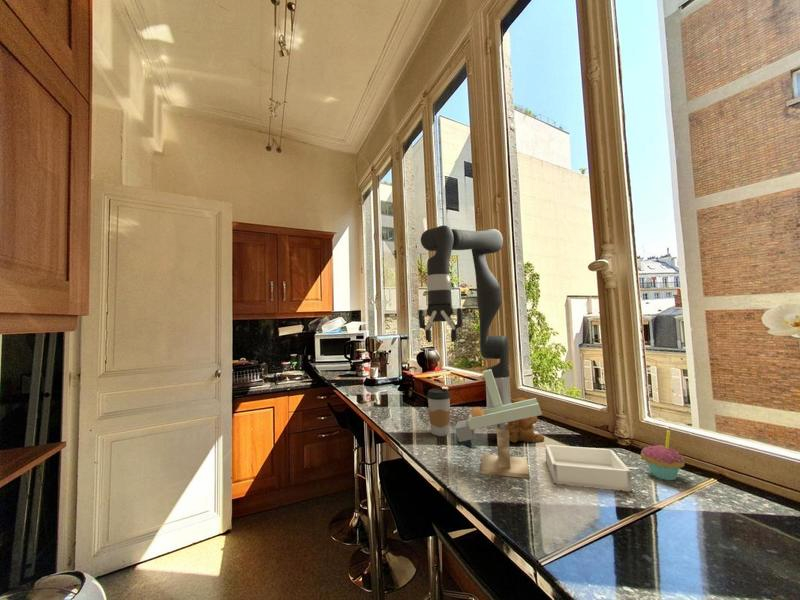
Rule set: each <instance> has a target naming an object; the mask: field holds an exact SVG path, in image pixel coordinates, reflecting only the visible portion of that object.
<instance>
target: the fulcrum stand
mask: <svg viewBox="0 0 800 600" xmlns="http://www.w3.org/2000/svg"><path fill="white" fill-rule="evenodd" d="M496 441H497V443H496V444H497V454H486V453H482V455H481V464H480V474H484V475H491V476H492V475H493V476H503V477H514V478H522V479H530V478H531V475H530V474H531V473H530V469H529V465H528V460H527V457H521V456H520V457H519V456H511V454H510V453H511V451H510V441H509V429H508V423H505V429H503V430H502V429H500V424H496Z"/></svg>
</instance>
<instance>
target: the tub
mask: <svg viewBox="0 0 800 600" xmlns="http://www.w3.org/2000/svg"><path fill="white" fill-rule="evenodd" d="M544 450H545V461H546V464H547V468H548V471H549V473H550V476H551V479H552V483H553V484H554V483H556V484H555V485H562V484H567V485H566V486H572V485H573V486H574V487H582V486H584V487H583V488H591V487H594V488H593V489H602V490H611V489H614V490H613V491H620V490H622V492H630V491H632V492H633V483H632V471H631V470H630V469H629V468H628V466H627V465H626V464H625V463H624V462H623V461H622V459H621V458H620V457H619V455H617V454H616V452H615V451H614V450H613V449H611V448H610V449H609V448H600V447H599V448H598V447H597V448H596V447H585V446H584V447H583V446H569V445H557V444H545V448H544Z"/></svg>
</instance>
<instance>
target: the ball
mask: <svg viewBox="0 0 800 600" xmlns="http://www.w3.org/2000/svg"><path fill="white" fill-rule="evenodd" d="M483 410H484V409H483V408H482V407H479V406H476V407H473V408H472V409H471V412H470V414H471V415H472V417H477V416H482V415H484V411H483Z"/></svg>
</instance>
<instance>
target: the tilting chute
mask: <svg viewBox="0 0 800 600" xmlns="http://www.w3.org/2000/svg"><path fill="white" fill-rule="evenodd" d="M482 374H483V377H484V381H485V385H486V384H487V387H488V390H489V393H490V396H491V400H492V403H493V406H494V407H493V408H489V409H487V408H486V409H485V408H484V409H482V410H483V411H484V415H482V416H477V417H472V415H471V413H469V416H468V418H467V419H462V420H458V421H457V423H456V425H455V428H454V429H455V430H454V431H455V433H456V436H457V440H458V442H459V443H460V442H466V441H471V440H474V436H475V433H476V431H475V429H479V428H480V429H481V428H485V427H491V426H494V425H496V426H497V424H500V429H502V430H503V429H505V422H510V421H515V420H519V419H524V418H529V417H534V416H536V417H538V416H542V415H543V413H542V410H541V407H540V403H539V402H538V400H537V397H534V398H530V399H529V398H528V399H527V400H524V401H520V402H515V403H512V402H511V404H507V405H503V404H502V401H501V398H500V395H499V392H498V389H497V386H496V383H495V379H494V376H493V373H492V370H491V369H489V370H486V369H485V370H483V371H482Z"/></svg>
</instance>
